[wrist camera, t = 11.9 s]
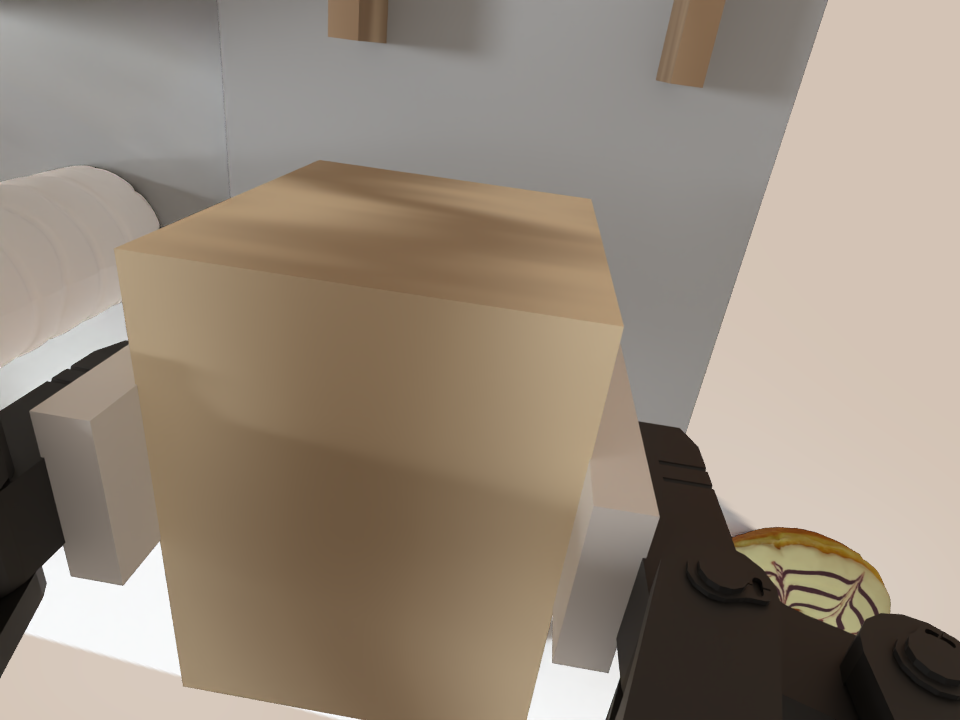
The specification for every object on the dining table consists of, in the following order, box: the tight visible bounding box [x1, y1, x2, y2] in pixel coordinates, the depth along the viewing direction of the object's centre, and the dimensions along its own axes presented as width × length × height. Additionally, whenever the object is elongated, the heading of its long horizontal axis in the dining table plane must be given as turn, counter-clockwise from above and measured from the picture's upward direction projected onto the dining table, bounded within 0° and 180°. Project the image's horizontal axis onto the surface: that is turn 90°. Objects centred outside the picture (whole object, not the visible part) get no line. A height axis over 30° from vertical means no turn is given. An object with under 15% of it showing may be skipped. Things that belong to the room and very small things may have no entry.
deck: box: [217, 0, 828, 434], centre depth 27 cm, size 22×29×3 cm
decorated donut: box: [732, 527, 891, 635], centre depth 33 cm, size 10×11×4 cm
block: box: [114, 160, 624, 720], centre depth 12 cm, size 6×8×7 cm
